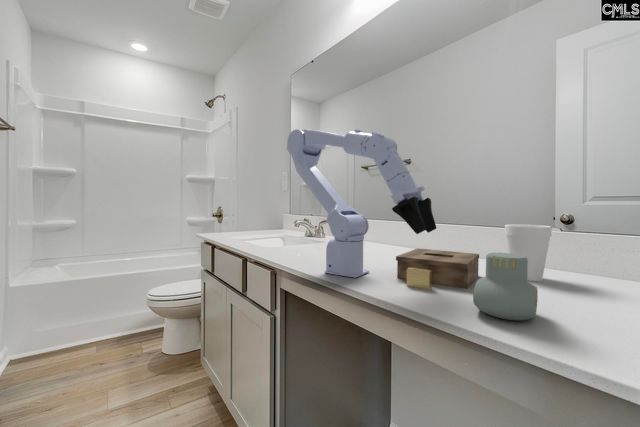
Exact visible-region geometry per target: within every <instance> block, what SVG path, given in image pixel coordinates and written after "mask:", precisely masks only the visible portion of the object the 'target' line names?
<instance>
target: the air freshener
mask: <svg viewBox="0 0 640 427" xmlns="http://www.w3.org/2000/svg"><path fill="white" fill-rule="evenodd" d="M485 257H486V258H485V259H486V260H485V277H482V278H478V280H476V282H475V284H474V288H473V293H472V294H473V295H472V301H473V305H474V306H475V307H476V308H477V309H479V310H480V311H482V312H483V313H485V314H487V315H489V316H491V317H494V318H497V319H501V320H508V321H518V322H519V321H521V322H523V321H526V320H531V319H534V318H535V317H536V315H537V311H538V310H537V308H538V287H537V286H536V285H534V284H532V283H531V282H529V281H527V269H528V259H527V258H526V257H525V256H523V255H518V254H511V253H508V252H490V253H487V254H486V256H485Z"/></svg>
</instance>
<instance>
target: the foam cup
mask: <svg viewBox="0 0 640 427" xmlns="http://www.w3.org/2000/svg"><path fill="white" fill-rule="evenodd" d="M504 235H505V236H506V237H505V238H506V239H505V240H506V247H507V253H511V254H518V255H523V256H525V257H526V258H527V259H528V269H527V281H528V282H529V281H530V282H541V281H542V280H543V277H544V272H545V267H546V261H547V256H548V249H549V246H550V240H551V237H552V226H551V225H540V224H505V225H504Z"/></svg>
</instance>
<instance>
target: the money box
mask: <svg viewBox="0 0 640 427" xmlns="http://www.w3.org/2000/svg"><path fill="white" fill-rule="evenodd" d="M479 259H480V253H471V252H464V251H463V252H462V251H451V250H439V249H428V248H415V249H411V250H409V251H406V252H404V253H401V254H398V255H396V256H395V261H397V264H396V265H397V266H396V267H397V270H396V271H397V273H396V274H397V276H396V278H397V279H404V280H407V268H409V267H410V268H418V269H426V270H432V284H436V285H442V286H448V287H449V286H450V287H456V288H461V289H462V288H463V289H469V288H470V286H471V285H472V284H473V283H474V281H476V279H477V278H478V277H479Z"/></svg>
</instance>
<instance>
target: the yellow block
mask: <svg viewBox="0 0 640 427" xmlns="http://www.w3.org/2000/svg"><path fill="white" fill-rule="evenodd" d="M432 284H433V283H432V270H426V269H418V268H410V267H409V268H407V279H406V287H409V288H410V287H411V288H417V289H423V290H428V291H429V290H431V289H432V288H433V287H432Z"/></svg>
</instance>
